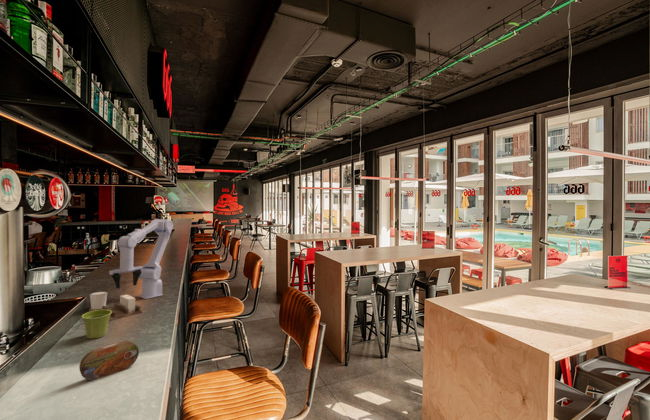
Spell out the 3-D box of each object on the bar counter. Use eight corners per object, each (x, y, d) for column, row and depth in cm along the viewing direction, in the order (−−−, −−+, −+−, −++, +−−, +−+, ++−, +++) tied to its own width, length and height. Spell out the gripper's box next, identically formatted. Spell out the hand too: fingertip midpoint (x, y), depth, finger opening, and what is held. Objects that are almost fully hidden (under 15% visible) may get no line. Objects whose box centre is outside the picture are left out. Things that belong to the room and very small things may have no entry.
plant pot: (117, 332, 121) (117, 311, 121) (92, 342, 112) (92, 319, 112) (100, 329, 124) (101, 308, 124) (75, 338, 116) (75, 316, 115)
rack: (128, 306, 152) (128, 300, 152) (141, 312, 144) (141, 306, 144) (87, 315, 138) (87, 309, 138) (99, 323, 130) (99, 316, 130)
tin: (80, 385, 87) (80, 356, 87) (78, 380, 89) (78, 352, 89) (139, 364, 98) (139, 339, 98) (135, 361, 100) (136, 336, 100)
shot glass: (97, 310, 145) (97, 296, 145) (85, 309, 146) (86, 294, 146) (110, 305, 152) (110, 292, 152) (99, 304, 153) (99, 290, 153)
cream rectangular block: (126, 306, 149) (127, 294, 149) (135, 310, 144) (135, 298, 143) (119, 308, 146) (120, 295, 146) (128, 312, 141) (128, 299, 141)
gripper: (113, 262, 145) (113, 291, 145) (145, 259, 157) (145, 285, 157) (107, 261, 149) (107, 288, 149) (139, 257, 161) (139, 282, 161)
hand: (126, 286), depth 154 cm, fingers open, 7 cm apart
